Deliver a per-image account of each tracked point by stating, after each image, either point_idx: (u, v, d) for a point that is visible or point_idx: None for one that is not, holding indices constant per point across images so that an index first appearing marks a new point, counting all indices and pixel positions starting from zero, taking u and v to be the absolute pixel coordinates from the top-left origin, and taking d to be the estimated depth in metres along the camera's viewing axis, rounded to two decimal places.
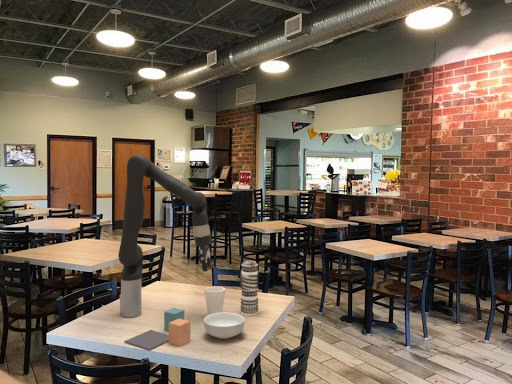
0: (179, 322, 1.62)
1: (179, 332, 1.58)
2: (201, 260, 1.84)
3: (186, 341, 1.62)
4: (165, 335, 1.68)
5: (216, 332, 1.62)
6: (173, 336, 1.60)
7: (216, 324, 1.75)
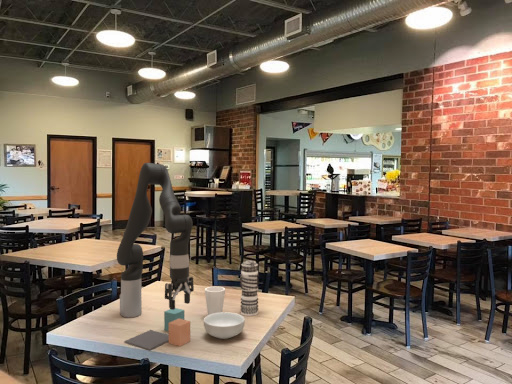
0: (179, 322, 1.62)
1: (179, 332, 1.58)
2: (166, 296, 1.56)
3: (186, 341, 1.62)
4: (165, 335, 1.68)
5: (216, 332, 1.62)
6: (173, 336, 1.60)
7: (216, 324, 1.75)
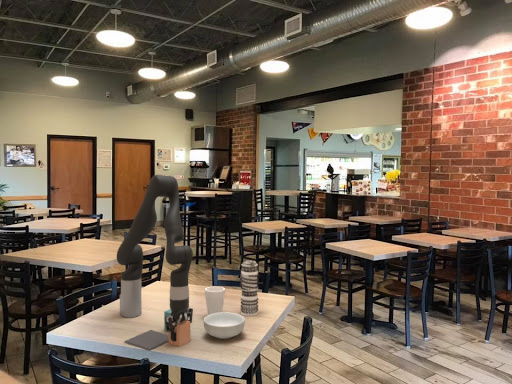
0: None
1: (179, 332, 1.58)
2: (168, 328, 1.58)
3: (186, 341, 1.62)
4: (165, 335, 1.68)
5: (216, 332, 1.62)
6: None
7: (216, 324, 1.75)
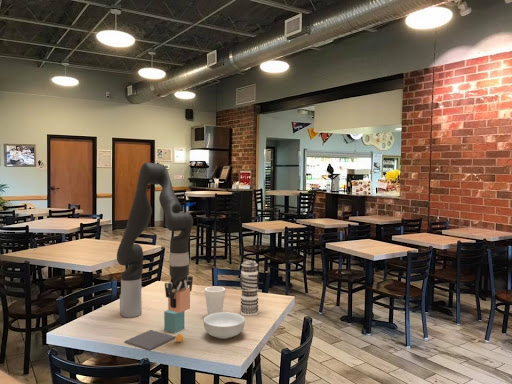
0: None
1: (179, 299, 1.58)
2: (167, 295, 1.57)
3: (186, 308, 1.61)
4: (165, 335, 1.68)
5: (216, 332, 1.62)
6: None
7: (216, 324, 1.75)
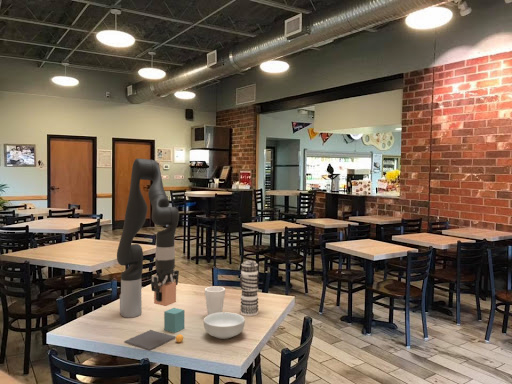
0: (165, 283, 1.62)
1: (165, 292, 1.59)
2: (153, 288, 1.58)
3: (172, 302, 1.62)
4: (165, 335, 1.68)
5: (216, 332, 1.62)
6: None
7: (216, 324, 1.75)
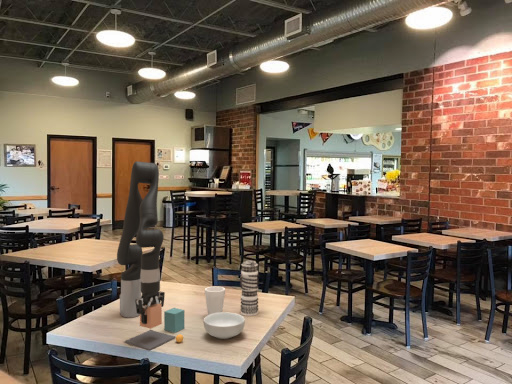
0: None
1: (150, 314, 1.60)
2: (138, 311, 1.59)
3: (157, 324, 1.63)
4: (165, 335, 1.68)
5: (216, 332, 1.62)
6: None
7: (216, 324, 1.75)
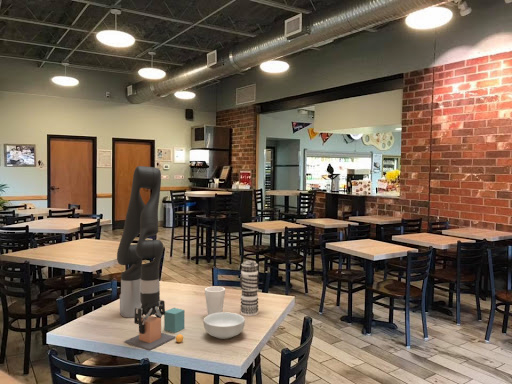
0: (150, 319, 1.63)
1: (149, 329, 1.60)
2: (136, 321, 1.58)
3: (157, 338, 1.63)
4: (165, 335, 1.68)
5: (216, 332, 1.62)
6: None
7: (216, 324, 1.75)
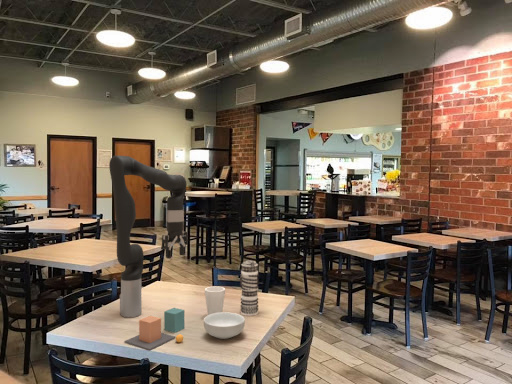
0: (150, 319, 1.63)
1: (149, 329, 1.60)
2: (163, 246, 1.75)
3: (157, 338, 1.63)
4: (165, 335, 1.68)
5: (216, 332, 1.62)
6: (144, 332, 1.61)
7: (216, 324, 1.75)
